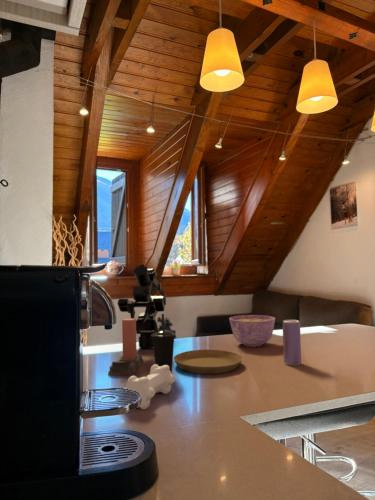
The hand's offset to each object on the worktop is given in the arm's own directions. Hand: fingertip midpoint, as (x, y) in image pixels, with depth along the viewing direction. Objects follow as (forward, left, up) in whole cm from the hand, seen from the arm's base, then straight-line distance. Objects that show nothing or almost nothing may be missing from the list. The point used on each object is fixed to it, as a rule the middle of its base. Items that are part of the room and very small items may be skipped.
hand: (137, 321), depth 148 cm
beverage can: (-51, +28, -14) cm, 60 cm away
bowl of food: (-50, -5, -14) cm, 52 cm away
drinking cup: (-5, +29, -14) cm, 33 cm away
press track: (+6, +16, -14) cm, 21 cm away
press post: (+4, +12, -12) cm, 18 cm away
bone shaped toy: (+2, +49, -14) cm, 50 cm away
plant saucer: (-22, +21, -14) cm, 34 cm away
